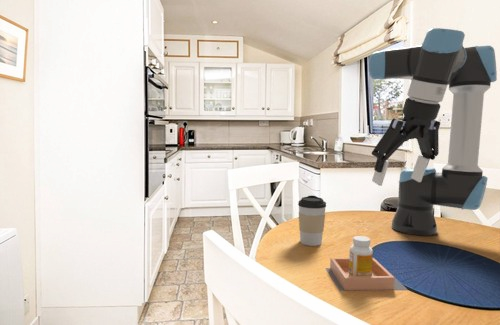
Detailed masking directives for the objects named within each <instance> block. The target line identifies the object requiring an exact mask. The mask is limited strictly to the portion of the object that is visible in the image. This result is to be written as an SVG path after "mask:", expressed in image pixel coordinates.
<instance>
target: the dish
mask: <svg viewBox="0 0 500 325" xmlns="http://www.w3.org/2000/svg"><path fill="white" fill-rule="evenodd" d="M349 258H350V257H330V264H329V268H330V269H331V271H332V272H333V274H334V275H335V276H336V278H337V279H338V281H339V282H340V284H341V285H342V287H343V288H344V290H363V291H395V290H394V281H395V278H396V277H395V276H394V275H393V274H392V273H391V272H390V273H391V274H390V273H389V271H388V270H387V268H386V267H385V266H383V265H382V264H381V263H380V262H379V261H378V260H377V259H375V257H373V259H372V276H350V275H349Z"/></svg>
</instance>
